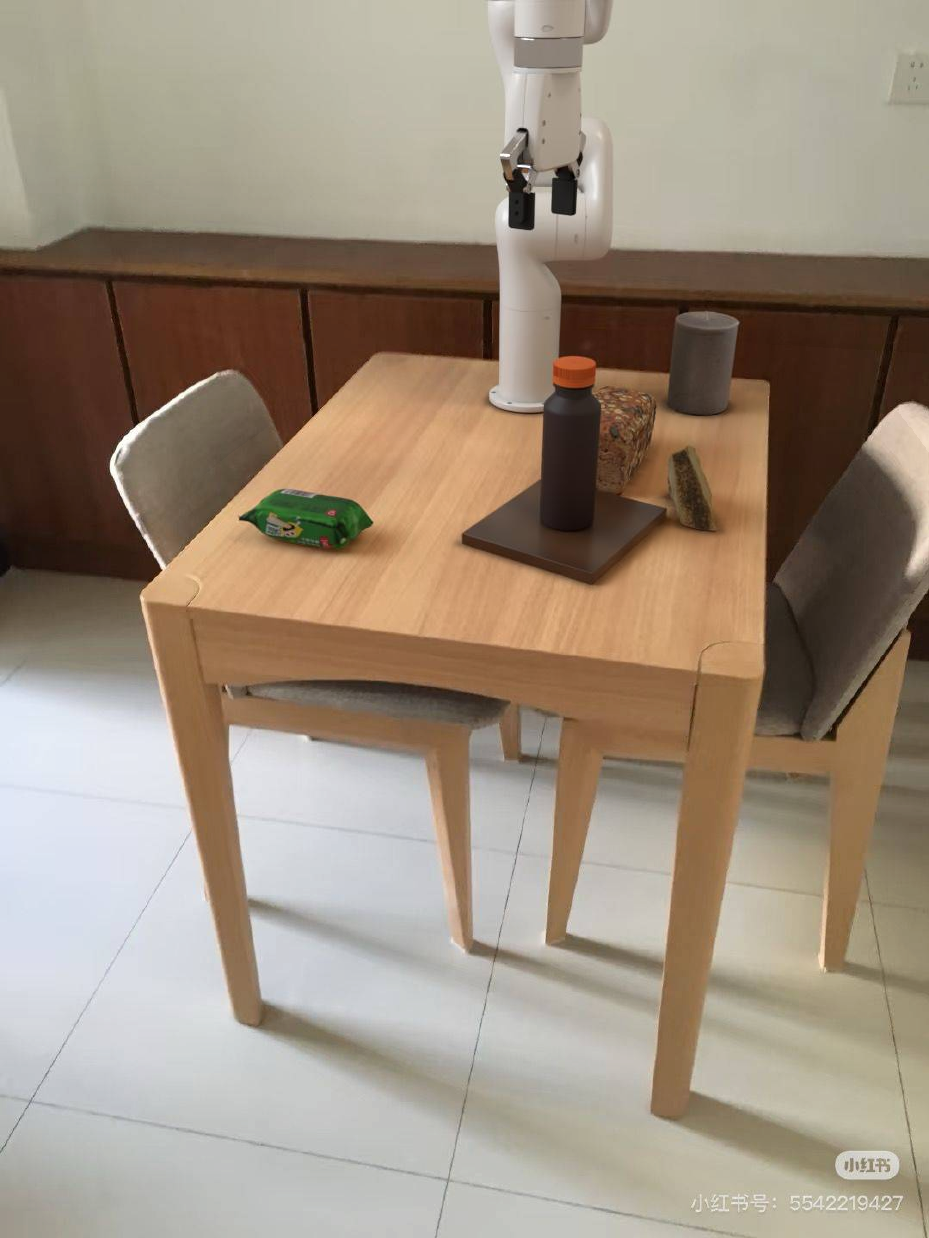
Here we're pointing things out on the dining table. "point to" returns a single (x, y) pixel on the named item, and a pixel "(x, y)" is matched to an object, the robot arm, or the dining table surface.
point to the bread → (622, 435)
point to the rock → (690, 490)
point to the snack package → (308, 518)
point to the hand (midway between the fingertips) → (542, 221)
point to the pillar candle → (701, 362)
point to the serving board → (565, 534)
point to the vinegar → (570, 446)
